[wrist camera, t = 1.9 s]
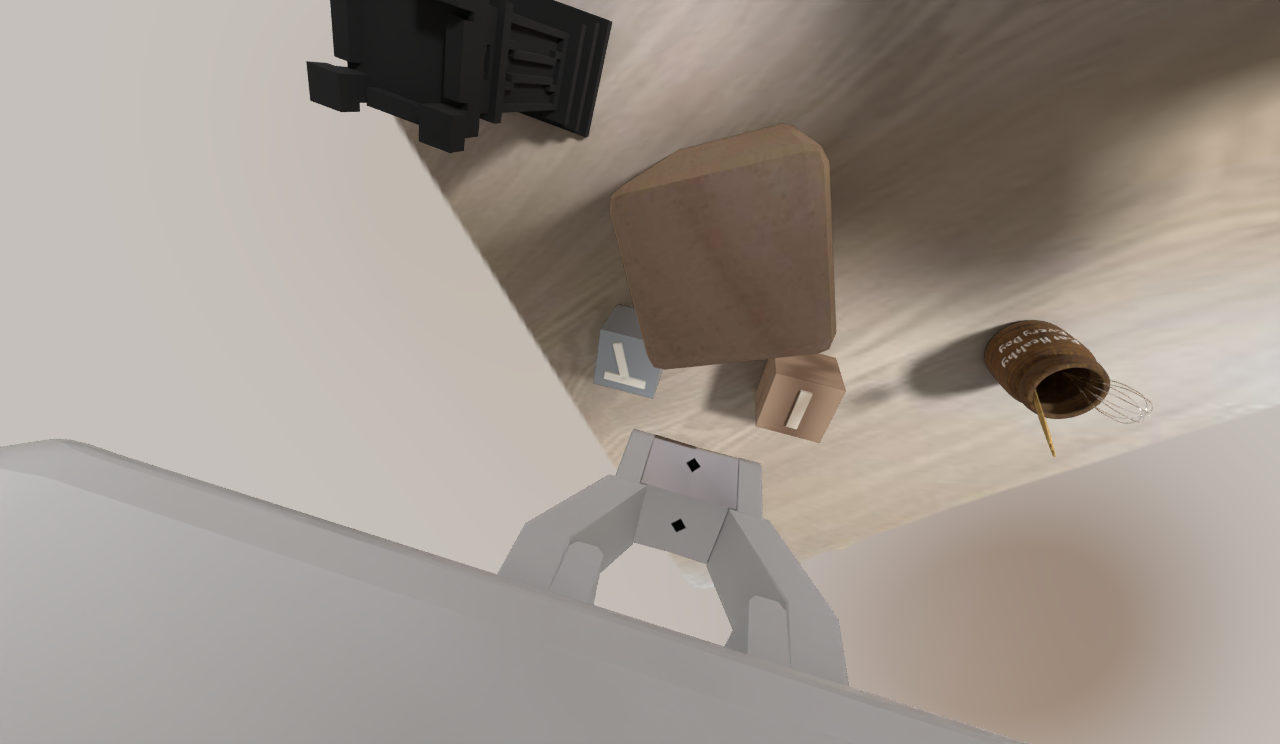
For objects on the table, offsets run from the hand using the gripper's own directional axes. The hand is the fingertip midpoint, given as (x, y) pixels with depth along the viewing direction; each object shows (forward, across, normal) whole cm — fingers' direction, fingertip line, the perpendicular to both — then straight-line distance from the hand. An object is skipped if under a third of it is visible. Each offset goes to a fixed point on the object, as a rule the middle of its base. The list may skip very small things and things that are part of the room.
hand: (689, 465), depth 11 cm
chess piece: (+33, +17, -7) cm, 38 cm away
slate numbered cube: (+33, +6, +15) cm, 37 cm away
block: (+33, 0, 0) cm, 33 cm away
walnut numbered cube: (+33, -10, +15) cm, 38 cm away
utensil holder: (+33, -27, +7) cm, 43 cm away
